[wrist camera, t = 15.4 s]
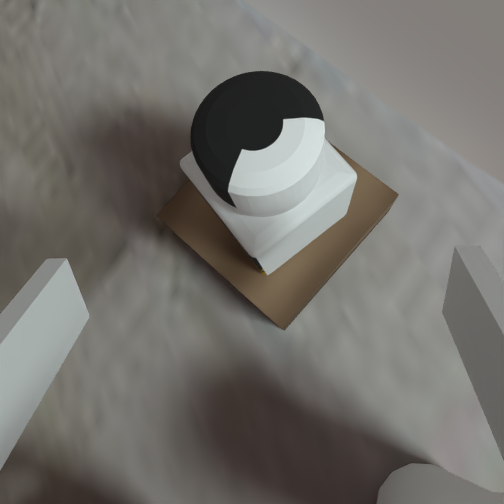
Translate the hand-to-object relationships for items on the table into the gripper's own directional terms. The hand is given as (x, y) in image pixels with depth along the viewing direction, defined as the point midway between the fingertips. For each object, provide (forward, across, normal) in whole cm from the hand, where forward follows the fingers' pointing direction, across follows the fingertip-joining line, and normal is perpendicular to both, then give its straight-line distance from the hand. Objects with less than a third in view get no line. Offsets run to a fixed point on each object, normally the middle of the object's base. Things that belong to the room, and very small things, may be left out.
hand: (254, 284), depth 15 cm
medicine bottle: (+15, 0, -5) cm, 16 cm away
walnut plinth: (+18, 0, -8) cm, 20 cm away
